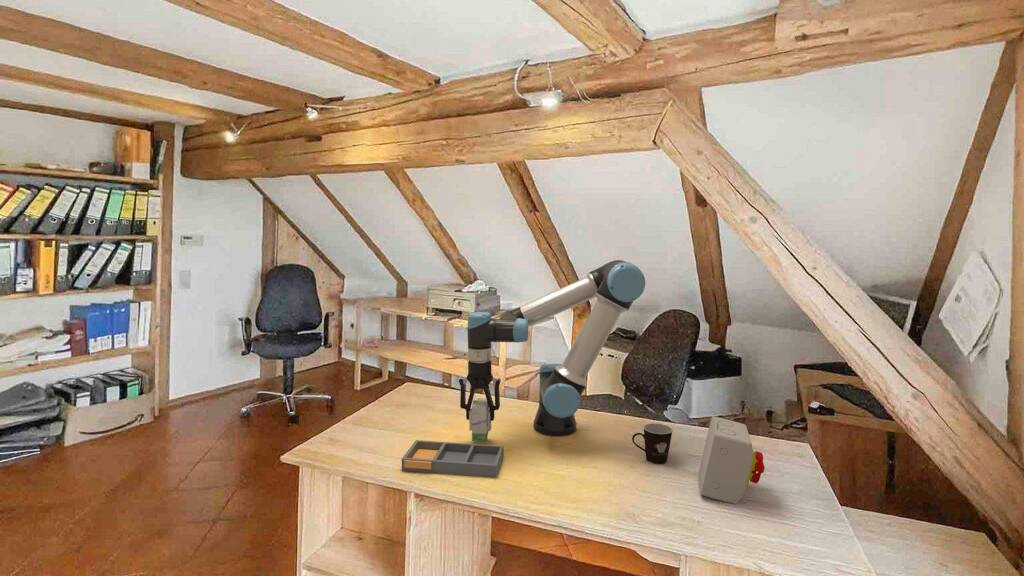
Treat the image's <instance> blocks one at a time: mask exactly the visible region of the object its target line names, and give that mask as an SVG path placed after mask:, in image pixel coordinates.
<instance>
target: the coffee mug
mask: <svg viewBox="0 0 1024 576" xmlns="http://www.w3.org/2000/svg"><path fill="white" fill-rule="evenodd" d="M673 430H674V429H673V428H672V427H671V426H669V425H666V424H662V423H657V422H655V423H647V424H645V425H644V426H643V433H642V432H637V433H636V432H635V433H634V434H633V435H632V437H631V441H632V443H633V444H634V446H636V447H637V448H638V449H640V450H641V451H644V452H645V461H647V462H648V463H650V464H656V465H662V464H663V465H664V464H666V463H667V462H668V457H669V451H670V446H671V441H672V435H673V432H674V431H673ZM636 436H641V437H642V438H643V439H644V448H643V447H642V446H640V445H639V444H637V443H636V442H635V437H636Z"/></svg>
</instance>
